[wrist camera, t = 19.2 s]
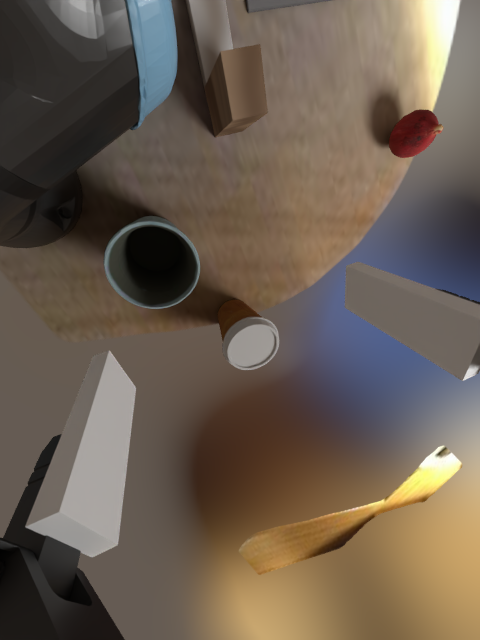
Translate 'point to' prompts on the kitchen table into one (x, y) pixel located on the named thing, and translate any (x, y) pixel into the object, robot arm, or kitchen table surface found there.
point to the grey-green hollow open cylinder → (151, 263)
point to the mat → (275, 4)
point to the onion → (414, 133)
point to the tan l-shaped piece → (226, 69)
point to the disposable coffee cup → (246, 336)
